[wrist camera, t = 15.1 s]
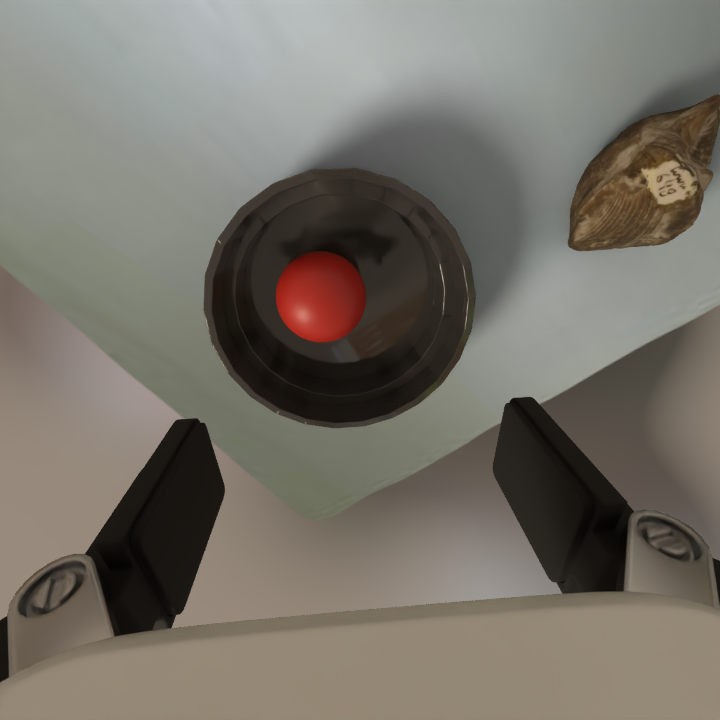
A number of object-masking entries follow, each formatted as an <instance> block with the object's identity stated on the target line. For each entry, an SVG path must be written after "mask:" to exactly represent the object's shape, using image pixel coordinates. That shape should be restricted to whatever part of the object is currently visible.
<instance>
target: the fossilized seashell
mask: <svg viewBox="0 0 720 720" xmlns="http://www.w3.org/2000/svg"><path fill="white" fill-rule="evenodd" d="M719 108H720V95H719V94H716V95H714V96H712V97H710V98H708V99H706V100H704V101H702V102H700V103H698V104H696V105H694V106H691V107H688V108H685V109H681V110H677V111H673V112H667V113H662V114H658V115H653V116H649V117H647V118H644V119H642V120H639V121H638V122H636V123H634V124H632V125H631V126H629V127H627V128H626V129H625V130H624V131H622V132H621V134H620V135H619V136H618V137H617V138H616V140H614V141H613V142H612V143H610V144H609V145H608V146H606V147H605V148H604V149H603V150H602V151H601V152H600V153H599V154H598V155H597V156H596V157H595V158H594V159H593V160H592V161H591V162H590V163H589V165H588V166H587V168H586V169H585V171H584V173H583V175H582V177H581V179H580V181H579V183H578V185H577V188H576V191H575V195H574V198H573V202H572V206H571V209H570V210H571V212H570V235H569V240H568V245H569V247H570V248H572V249H574V250H577V251H592V250H605V249H613V248H626V247H639V246H650V245H660V244H664V243H667V242H669V241H670V240H672V239H674V238H675V237H677V236H678V235H679V234H681V233H683V232H684V231H686V230H687V229H688V228H690V227H691V226H692V225H693V223H694V221H695V220H696V219H697V217H698V215H699V213H700V210H701V204H702V201H703V197H704V191H705V189H706V188H707V186H708V184H709V183H710V181H711V180H712V177H713V172H712V171H710V170H707V168H708V166H709V164H710V162H711V157H712V150H713V147H714V143H715V139H716V136H717V131H718V127H719V123H720V110H719Z"/></svg>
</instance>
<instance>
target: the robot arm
mask: <svg viewBox="0 0 720 720" xmlns="http://www.w3.org/2000/svg"><path fill="white" fill-rule="evenodd" d="M493 473H494V476H495V478H496V480H497V482H498V484H499V486H500V488H501V490H502V492H503V493H504V495H505V497H506V499H507V501H508V503H509V505H510V506H511V508H512V510H513V512H514V514H515V516H516V518H517V520H518V522H519V523H520V525H521V527H522V529H523V531H524V533H525V534H526V537H527V538H528V540H529V542H530V544H531V546H532V548H533V550H534V552H535V553H536V555H537V557H538V559H539V561H540V563H541V564H542V567H543V568H544V570H545V572H546V574H547V576H548V577H549V579H550V580H551V581H552V582H557V584H558V586H559V588H560V590H561V592H562V593H563V594H553V595H538V596H524V597H512V598H499V599H487V600H475V601H463V602H450V603H438V604H428V605H427V604H426V605H415V606H403V607H391V608H381V609H369V610H357V611H346V612H335V613H323V614H312V615H301V616H291V617H279V618H269V619H258V620H247V621H237V622H226V623H216V624H206V625H197V626H188V627H179V628H172V625H173V622H174V619H175V617H176V615H178V614H181V613H182V611H183V610H184V607H185V605H186V602H187V599H188V596H189V594H190V591H191V588H192V585H193V582H194V580H195V577H196V574H197V571H198V568H199V565H200V563H201V560H202V557H203V554H204V551H205V549H206V546H207V543H208V540H209V537H210V534H211V532H212V529H213V526H214V523H215V520H216V517H217V515H218V512H219V509H220V506H221V503H222V501H223V497H224V493H225V487H224V482H223V479H222V476H221V473H220V469H219V466H218V463H217V460H216V456H215V453H214V450H213V447H212V443H211V440H210V437H209V434H208V430H207V427H206V425H205V423H200V421H199V420H198V419H196V418H195V419H180V420H176V421H175V422H174V423H173V425H172V426H171V428H170V429H169V431H168V432H167V434H166V435H165V437H164V438H163V440H162V441H161V443H160V444H159V446H158V448H157V449H156V450H155V452H154V453H153V455H152V456H151V458H150V459H149V461H148V462H147V464H146V465H145V467H144V468H143V469H142V470H141V472H140V473H139V474H138V476H137V477H136V479H135V480H134V482H133V483H132V485H131V486H130V488H129V489H128V491H127V492H126V494H125V495H124V497H123V498H122V500H121V501H120V503H119V504H118V506H117V507H116V509H115V510H114V512H113V513H112V515H111V516H110V518H109V519H108V520H107V522H106V523H105V525H104V527H103V528H102V529H101V531H100V532H99V534H98V535H97V537H96V538H95V540H94V542H93V543H92V544H91V546H90V547H89V549H88V550H87V552H86V553H85V554H72V555H68V556H65V557H61V558H59V559H57V560H55V561H53V562H51V563H49V564H47V565H46V566H44V567H43V568H41V569H40V570H38V571H37V572H36V573H34V574H33V575H32V576H31V577H30V578H29V579H28V580H26V582H25V583H24V584H23V585H22V586H21V587H20V588H19V590H18V591H17V592H16V593H15V595H14V597H13V599H12V600H11V602H10V604H9V609H8V614H7V616H6V617H5V618H3V619H2V620H0V720H720V561H719V560H716V559H714V558H712V554H711V551H710V549H709V546H708V545H707V544H706V542H705V541H704V539H703V538H702V537H701V536H700V535H699V534H698V533H697V532H696V531H695V530H693V529H692V528H691V527H689V526H688V525H687V524H685V523H684V522H682V521H680V520H679V519H677V518H675V517H672V516H670V515H668V514H665V513H662V512H659V511H655V510H646V509H644V510H638V511H635V512H634V511H633V510H632V509H631V508H630V506H629V505H628V504H627V501H626V500H625V499H624V498H623V497H622V496H621V494H620V493H619V492H618V491H617V490H616V489H615V488H614V487H613V486H612V485H611V483H610V482H609V481H608V480H607V479H606V478H605V477H604V476H603V475H602V473H601V472H600V471H599V470H598V469H597V468H596V467H595V466H594V465H593V463H592V462H591V461H590V460H589V459H588V458H587V457H586V456H585V455H584V454H583V453H582V451H581V450H580V449H579V448H578V447H577V446H576V445H575V444H574V443H573V441H572V440H571V439H570V438H569V437H568V436H567V435H566V434H565V432H564V431H563V430H562V429H561V428H560V427H559V426H558V425H557V424H556V422H555V421H554V420H553V419H552V418H551V417H550V416H549V415H548V414H547V412H546V411H545V410H544V409H543V408H542V407H541V406H540V405H539V404H538V403H537V401H536V400H535V399H534V398H532V397H522V398H512V399H511V400H510V403H506V405H505V407H504V412H503V417H502V422H501V427H500V432H499V437H498V442H497V448H496V452H495V458H494V462H493Z"/></svg>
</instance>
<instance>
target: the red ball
mask: <svg viewBox="0 0 720 720" xmlns="http://www.w3.org/2000/svg"><path fill="white" fill-rule="evenodd" d="M276 303H277V308H278V312H279V314H280V316H281V318H282V320H283V321H284V323H285V324H286V325H287V327H288V328H289V329H290V330H291V331H292V332H294V333H295V334H296V335H298V336H300V337H301V338H304V339H306V340H309V341H313V342H331V341H335V340H338V339H340V338H342V337H344V336H346V335H347V334H349V333H350V332H351V331H352V330H353V329H354V328H355V327H356V326H357V325H358V323H359V321H360V320H361V318H362V316H363V313H364V310H365V306H366V290H365V285H364V282H363V279H362V277H361V275H360V274H359V272H358V270H357V269H356V268H355V267H354V265H353V264H351V263H350V262H349V261H348V260H346V259H345V258H343V257H342V256H340V255H338V254H335V253H331V252H327V251H314V252H309V253H306V254H303V255H301V256H299V257H297V258H296V259H294V260H293V261H292V262H290V263H289V264H288V265H287V266H286V268H285V269H284V270H283V272H282V274H281V276H280V278H279V280H278V284H277V288H276Z"/></svg>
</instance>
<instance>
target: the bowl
mask: <svg viewBox="0 0 720 720" xmlns="http://www.w3.org/2000/svg"><path fill="white" fill-rule="evenodd" d="M314 251H327V252H331V253H335V254H338V255H340V256H342V257H343V258H345V259H346V260H348V261H349V262H350V263H351V264H353V265H354V267H355V268H356V269H357V270H358V272H359V274H360V275H361V277H362V279H363V282H364V285H365V290H366V306H365V310H364V313H363V316H362V318H361V320H360V321H359V323H358V325H357V326H356V327H355V328H354V329H353V330H352V331H351V332H350V333H349V334H347V335H346V336H344V337H342V338H340V339H338V340H335V341H331V342H313V341H309V340H306V339H304V338H301V337H300V336H298V335H296V334H295V333H294V332H292V331H291V330H290V329H289V328H288V327H287V325H286V324H285V323H284V321H283V320H282V318H281V316H280V314H279V312H278V308H277V303H276V288H277V284H278V280H279V278H280V276H281V274H282V272H283V270H284V269H285V268H286V266H287V265H288V264H289V263H290V262H292V261H293V260H294V259H296V258H297V257H299V256H301V255H303V254H306V253H309V252H314ZM475 296H476V295H475V289H474V282H473V275H472V268H471V263H470V260H469V258H468V256H467V254H466V251H465V249H464V247H463V245H462V243H461V240H460V238H459V236H458V234H457V232H456V230H455V228H454V227H453V226H452V225H451V224H450V222H449V221H448V220H447V219H446V218H445V217H444V216H443V214H442V213H441V212H440V211H439V210H438V209H437V208H436V206H435V205H434V204H433V203H432V202H431V201H430V200H429V199H427V198H426V197H424V196H422V195H421V194H419V193H418V192H416V191H414V190H413V189H411V188H410V187H408V186H407V185H405V184H403V183H402V182H400V181H399V180H397V179H395V178H391V177H387V176H383V175H380V174H376V173H372V172H369V171H365V170H361V169H357V168H356V169H355V168H340V169H314V170H310V171H307V172H304V173H301V174H299V175H296V176H293V177H290V178H287V179H284V180H281V181H278V182H276V183H274V184H272V185H270V186H269V187H267V188H266V189H265V190H263V191H262V192H261V193H259V194H258V195H257V196H255V197H254V198H253V199H251V200H250V201H249V202H247V203H246V204H245V205H243V206H242V207H241V208H240V209H239V210H238V211H237V213H236V214H235V216H234V217H233V218H232V220H231V221H230V222H229V224H228V225H227V227H226V228H225V229H224V231H223V232H222V233H221V235H220V236H219V238H218V239H217V241H216V244H215V247H214V250H213V253H212V256H211V259H210V262H209V265H208V268H207V271H206V274H205V285H204V315H205V319H206V323H207V327H208V331H209V335H210V338H211V342H212V344H213V347H214V349H215V351H216V353H217V354H218V356H219V358H220V360H221V361H222V363H223V365H224V367H225V369H226V370H227V372H228V373H229V375H230V376H231V377H232V378H233V379H234V380H235V381H236V382H237V383H238V384H239V385H240V386H241V387H242V389H243V390H244V391H245V392H246V393H247V394H248V395H249V396H251V397H252V398H253V399H255V400H256V401H258V402H259V403H261V404H262V405H264V406H265V407H267V408H269V409H270V410H272V411H273V412H275V413H277V414H279V415H282V416H284V417H287V418H290V419H292V420H295V421H298V422H301V423H303V424H308V425H315V426H322V427H329V428H345V427H359V426H367V425H370V424H373V423H377V422H380V421H384V420H387V419H391V418H394V417H395V416H397V415H399V414H401V413H403V412H405V411H407V410H408V409H410V408H412V407H414V406H416V405H418V404H419V403H420V402H422V401H423V400H424V399H425V398H426V397H427V396H429V395H430V394H431V393H432V392H433V391H434V390H435V389H437V388H438V387H439V386H440V385H441V384H442V383H443V382H444V380H445V379H446V377H447V376H448V375H449V373H450V372H451V370H452V369H453V368H454V366H455V365H456V364H457V362H458V361H459V359H460V357H461V355H462V352H463V350H464V347H465V345H466V342H467V340H468V337H469V335H470V332H471V329H472V322H473V314H474V306H475V298H476V297H475Z"/></svg>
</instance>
